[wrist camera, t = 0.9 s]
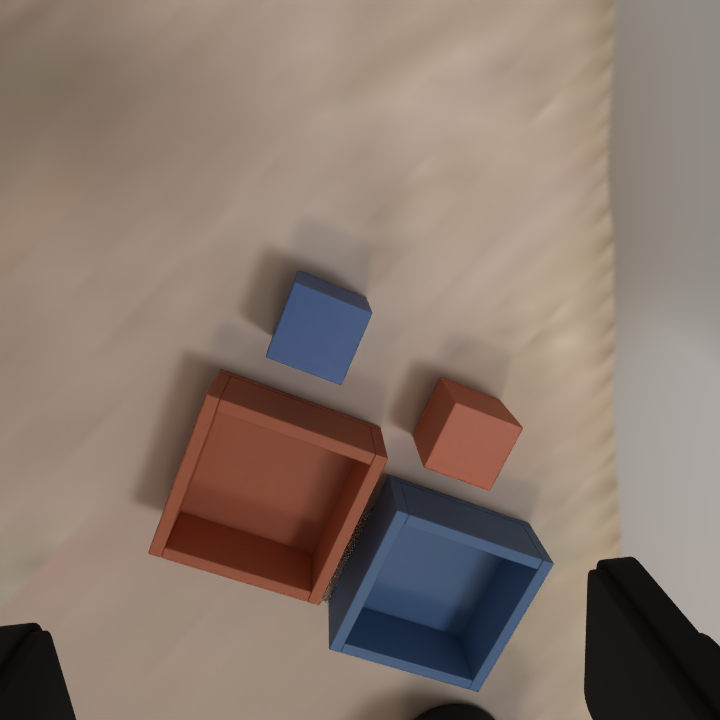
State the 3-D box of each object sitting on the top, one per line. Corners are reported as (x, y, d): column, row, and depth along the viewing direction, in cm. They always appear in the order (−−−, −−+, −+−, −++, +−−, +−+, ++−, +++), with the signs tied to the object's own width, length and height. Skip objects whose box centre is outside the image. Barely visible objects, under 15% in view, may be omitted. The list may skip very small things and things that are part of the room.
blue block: (272, 336, 35) (265, 357, 31) (298, 269, 34) (294, 281, 30) (339, 361, 36) (341, 385, 32) (366, 297, 35) (372, 312, 31)
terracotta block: (411, 435, 38) (423, 467, 34) (440, 376, 37) (455, 401, 32) (471, 457, 39) (490, 491, 34) (500, 400, 38) (523, 427, 33)
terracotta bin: (166, 513, 38) (147, 554, 34) (220, 368, 36) (206, 393, 31) (319, 561, 40) (318, 605, 36) (380, 427, 38) (388, 458, 33)
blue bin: (328, 601, 41) (328, 649, 37) (388, 474, 39) (397, 510, 34) (462, 642, 43) (478, 692, 39) (529, 523, 40) (554, 563, 36)
